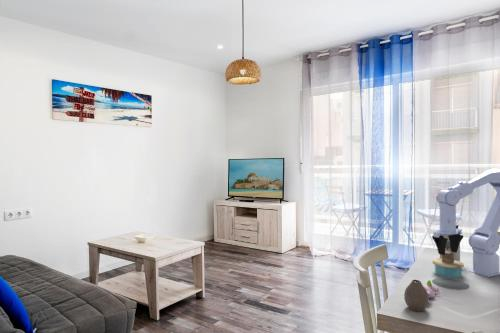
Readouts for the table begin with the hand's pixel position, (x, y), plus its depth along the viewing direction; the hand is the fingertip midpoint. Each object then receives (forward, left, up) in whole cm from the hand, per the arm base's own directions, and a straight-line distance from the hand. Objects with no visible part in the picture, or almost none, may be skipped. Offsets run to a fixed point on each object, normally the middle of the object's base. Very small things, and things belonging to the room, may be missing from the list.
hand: (447, 253), depth 139 cm
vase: (+39, +17, -9) cm, 43 cm away
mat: (+10, +8, -9) cm, 16 cm away
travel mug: (-17, -11, -9) cm, 22 cm away
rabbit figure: (+28, +12, -9) cm, 32 cm away
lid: (0, 0, -4) cm, 4 cm away
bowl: (0, 0, -9) cm, 9 cm away
